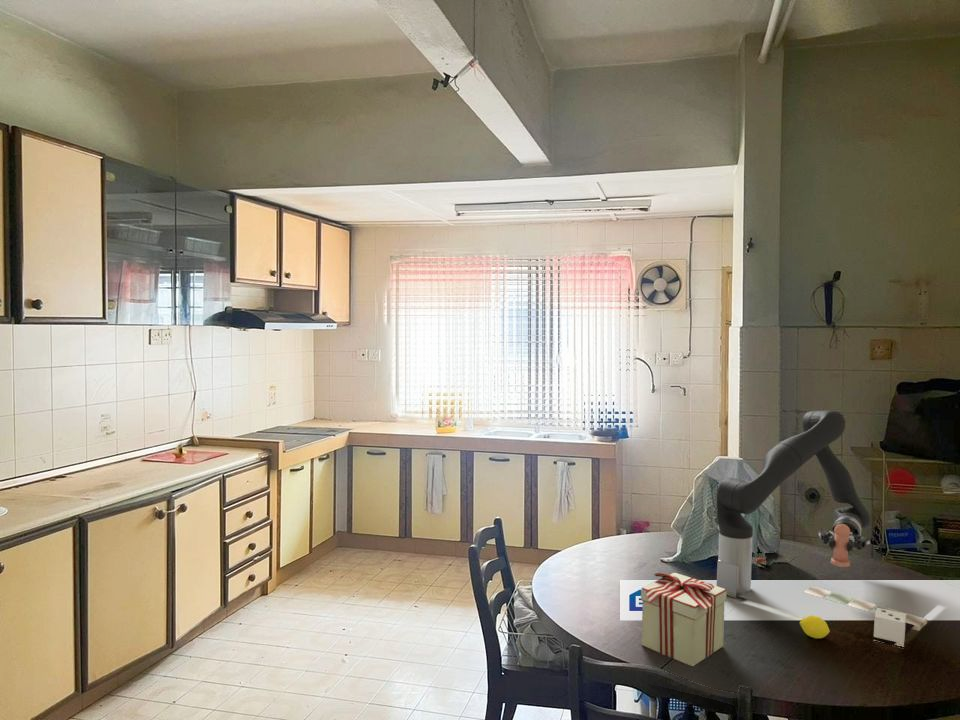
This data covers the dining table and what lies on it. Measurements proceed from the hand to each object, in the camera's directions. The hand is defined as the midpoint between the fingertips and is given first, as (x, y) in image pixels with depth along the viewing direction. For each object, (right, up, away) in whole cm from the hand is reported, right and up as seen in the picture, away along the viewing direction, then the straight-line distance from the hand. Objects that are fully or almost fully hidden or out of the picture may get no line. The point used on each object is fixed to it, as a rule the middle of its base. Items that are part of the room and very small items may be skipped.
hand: (840, 546), depth 200 cm
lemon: (-16, -19, -18) cm, 30 cm away
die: (+3, -19, -19) cm, 27 cm away
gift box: (-51, -19, -25) cm, 60 cm away
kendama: (-6, -14, +40) cm, 43 cm away
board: (+6, -17, -1) cm, 18 cm away
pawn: (+1, -6, +3) cm, 6 cm away
